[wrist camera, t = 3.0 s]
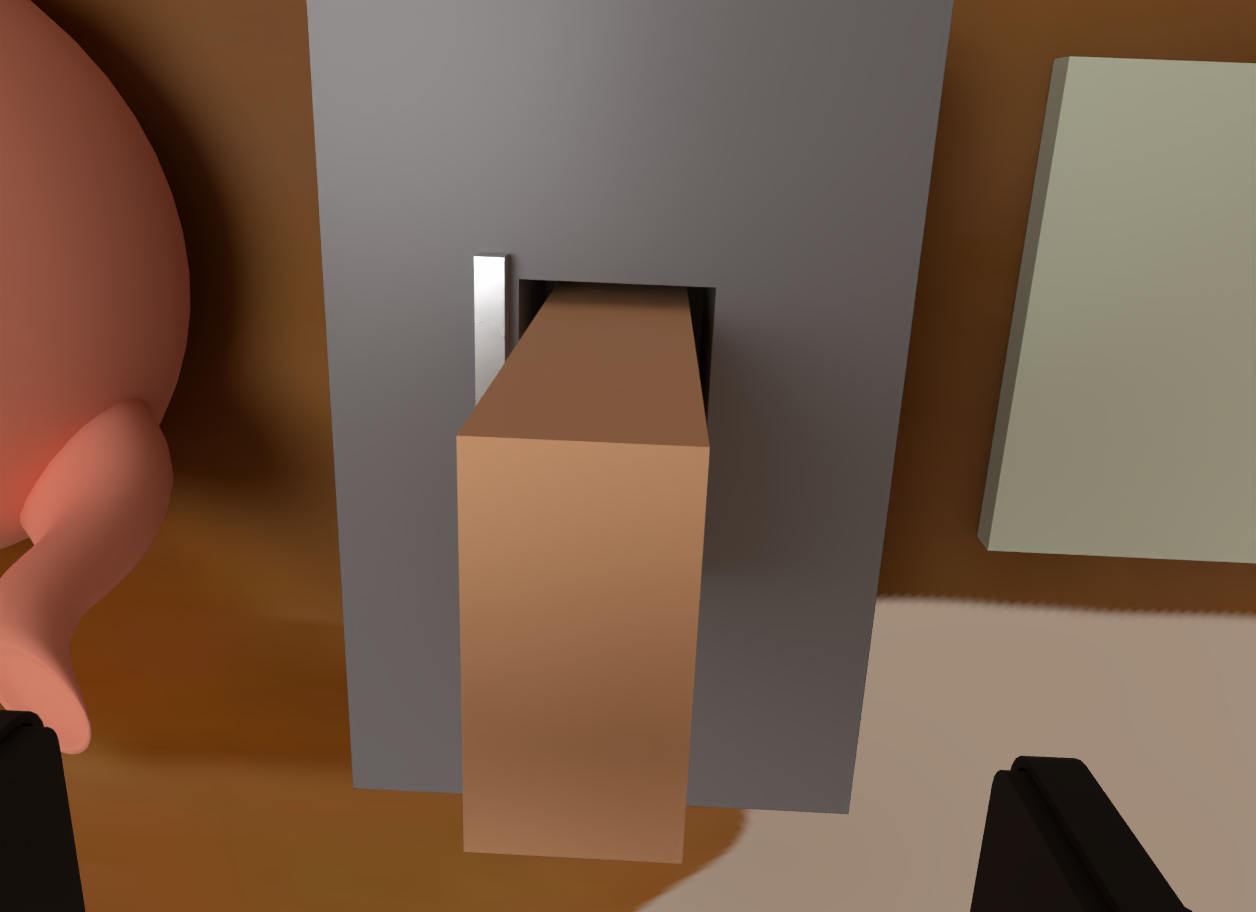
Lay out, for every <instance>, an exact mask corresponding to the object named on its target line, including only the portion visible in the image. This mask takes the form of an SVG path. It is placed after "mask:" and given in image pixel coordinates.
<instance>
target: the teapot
mask: <svg viewBox="0 0 1256 912" xmlns="http://www.w3.org/2000/svg"><path fill="white" fill-rule="evenodd" d="M189 318H190V276H189V266H188V260H187V253H186V247H185V240H184V234H183V230H182V226H181V223H180V219H179V216H178V212H177V209H176V205H175V202H174V198H173V195H172V192H171V189H170V187H169V185H168V182H167V180H166V177H165V175H164V172H163V170H162V168H161V165H160V163H159V160H158V158H157V155H156V153H155V152H154V150H153V148H152V146H151V144H150V142H149V141H148V139H147V137H146V135H145V133H144V132H143V130H142V128H141V126H140V124H139V123H138V121H137V119H136V117H135V115H134V114H133V113H132V111H131V110H130V108H129V107H128V105H127V104H126V103H125V101H124V100H123V98H122V97H121V96H120V94H119V93H118V91H117V90H116V88H115V87H114V86H113V84H112V83H111V81H110V80H109V78H108V77H107V76H106V75H105V74H104V73H103V72H102V71H101V69H100V68H99V67H98V66H97V65H96V64H95V63H94V62H93V60H92V59H91V58H90V57H89V56H88V55H87V54H86V52H85V51H84V50H83V49H82V48H81V47H80V46H79V45H78V43H77V42H76V41H75V40H73V39H72V38H71V37H70V36H69V35H68V34H67V33H66V32H65V31H64V30H63V29H62V28H60V27H59V26H58V25H57V24H56V23H55V22H54V21H53V20H52V19H51V18H49V17H48V16H47V15H46V14H45V13H44V12H43V11H42V10H41V9H39V8H38V7H37V6H36V5H35V4H34V3H33V2H32V1H31V0H0V549H2V548H5V547H8V546H10V545H13V544H16V543H18V542H20V541H23V540H25V539H27V538H31V540H32V542H33V544H34V546H33V547H32V548H31V549H30V550H29V551H28V552H26V553H25V554H24V555H23V556H22V557H21V558H20V559H19V560H18V561H17V562H15V563H14V564H13V565H12V566H11V567H10V568H9V569H8V570H7V571H6V572H5V573H4V575H3V576H2V577H1V578H0V703H1V704H2V705H3V706H4V708H5V709H6V710H15V711H31V712H33V713H36V714H38V716H39V717H40V718H41V720H42V721H43V725H44V727H49V728H52V729H53V730H54V731H55V732H56V734H57V736H58V740H59V745H60V751H61V752H63V753H67V754H79V753H81V752H83V751H84V750H85V749H86V748H87V747H88V746H89V743H90V740H91V737H92V731H91V721H90V716H89V712H88V709H87V707H86V704H85V701H84V698H83V696H82V693H81V690H80V688H79V686H78V682H77V679H76V676H75V673H74V669H73V666H72V663H71V660H70V651H71V637H72V634H73V632H74V630H75V628H76V625H77V623H78V622H79V620H80V619H81V618H82V617H83V615H84V614H85V613H86V612H87V611H88V610H89V609H90V608H91V607H92V606H94V605H95V604H96V603H97V602H98V601H99V600H100V599H101V598H102V597H103V596H105V595H106V594H107V593H108V592H109V591H110V590H111V589H113V588H114V587H115V586H116V585H117V584H118V583H119V582H121V581H122V579H123V578H124V577H125V576H126V575H127V574H128V573H129V572H130V571H131V570H132V569H133V568H134V567H135V566H136V565H137V563H138V562H139V561H140V559H141V558H142V557H143V555H144V554H145V553H146V551H147V550H148V548H149V547H150V545H151V543H152V541H153V540H154V538H155V536H156V535H157V533H158V531H159V529H160V527H161V525H162V523H163V521H164V519H165V517H166V515H167V510H168V506H169V502H170V496H171V491H172V486H173V481H174V479H173V469H172V463H171V458H170V453H169V448H168V443H167V441H166V439H165V437H164V435H163V433H162V431H161V429H160V427H159V424H160V423H161V421H162V419H163V416H164V414H165V411H166V409H167V407H168V404H169V402H170V399H171V397H172V395H173V392H174V390H175V387H176V384H177V381H178V378H179V374H180V370H181V366H182V362H183V358H184V354H185V350H186V346H187V337H188V328H189Z"/></svg>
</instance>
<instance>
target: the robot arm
mask: <svg viewBox="0 0 1256 912" xmlns="http://www.w3.org/2000/svg"><path fill="white" fill-rule="evenodd" d="M0 912H85V906H84V899H83V893H82V886H81V880H80V874H79V867H78V861H77V854H76V848H75V841H74V835H73V828H72V822H71V816H70V809H69V803H68V796H67V790H66V783H65V777H64V770H63V764H62V758H61V751H60V745H59V740H58V736H57V734H56V732H55V731H54V730H53V729H52V728H49V727H44V725H43V721H42V720H41V718H40V717H39V716H38V714H36V713H33V712H31V711H15V710H0ZM970 912H1192V911H1191V910H1189V909H1187V908H1185V907H1184V906H1183V904H1182V902H1181V901H1180V900H1179V899H1178V897H1177V895H1176V894H1175V892H1174V891H1173V890H1172V888H1171V887H1170V885H1169V884H1168V882H1167V881H1166V880H1165V878H1164V877H1163V875H1162V874H1161V872H1160V871H1159V870H1158V868H1157V867H1156V865H1155V864H1154V862H1153V861H1152V860H1151V858H1150V857H1149V855H1148V854H1147V852H1146V851H1145V849H1144V848H1143V847H1142V845H1141V844H1140V842H1139V841H1138V839H1137V838H1136V837H1135V835H1134V834H1133V832H1132V831H1131V829H1130V828H1129V827H1128V825H1127V824H1126V822H1125V821H1124V819H1123V818H1122V817H1121V815H1120V814H1119V812H1118V811H1117V810H1116V808H1115V807H1114V805H1113V804H1112V802H1111V801H1110V800H1109V798H1108V796H1107V795H1106V794H1105V792H1104V791H1103V789H1102V788H1101V787H1100V785H1099V784H1098V782H1097V781H1096V779H1095V778H1094V777H1093V775H1092V774H1091V772H1090V771H1089V769H1088V768H1087V766H1086V765H1085V764H1084V763H1083V762H1082V761H1081V760H1078V759H1075V758H1057V757H1035V756H1019V757H1018V758H1016V759H1015V761H1014V763H1013V764H1012V767H1011V770H1010V771H1009V770H1000V771H998V772H997V773H996V775H995V776H994V780H993V783H992V788H991V795H990V800H989V806H988V812H987V817H986V823H985V829H984V835H983V840H982V847H981V852H980V858H979V864H978V869H977V875H976V881H975V886H974V893H973V898H972V904H971V909H970Z"/></svg>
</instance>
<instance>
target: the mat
mask: <svg viewBox="0 0 1256 912" xmlns="http://www.w3.org/2000/svg"><path fill="white" fill-rule="evenodd" d="M977 537H978V538H979V540H980V541H981V542H982V544H983V545H984V546H985V548H986V549H987V550H988V551H1008V552H1029V553H1050V554H1071V555H1092V556H1113V557H1134V558H1155V559H1176V560H1197V561H1218V562H1239V563H1256V63H1232V62H1206V61H1179V60H1153V59H1127V58H1100V57H1074V56H1069V57H1063V58H1057V59H1054V63H1053V69H1052V76H1051V82H1050V88H1049V94H1048V100H1047V107H1046V113H1045V119H1044V125H1043V131H1042V138H1041V144H1040V150H1039V156H1038V162H1037V169H1036V175H1035V181H1034V187H1033V193H1032V200H1031V206H1030V212H1029V218H1028V224H1027V231H1026V237H1025V243H1024V249H1023V255H1022V262H1021V268H1020V274H1019V280H1018V286H1017V293H1016V299H1015V305H1014V311H1013V317H1012V323H1011V330H1010V336H1009V342H1008V348H1007V354H1006V361H1005V367H1004V373H1003V379H1002V385H1001V392H1000V398H999V404H998V410H997V416H996V423H995V429H994V435H993V441H992V447H991V454H990V460H989V466H988V472H987V478H986V485H985V491H984V497H983V503H982V509H981V516H980V522H979V528H978V534H977Z"/></svg>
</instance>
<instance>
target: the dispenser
mask: <svg viewBox="0 0 1256 912" xmlns="http://www.w3.org/2000/svg"><path fill="white" fill-rule="evenodd" d="M953 1H954V0H307V13H308V30H309V47H310V64H311V81H312V97H313V114H314V131H315V148H316V165H317V181H318V198H319V215H320V232H321V249H322V266H323V282H324V299H325V316H326V333H327V350H328V367H329V383H330V400H331V417H332V434H333V451H334V467H335V484H336V501H337V518H338V535H339V552H340V568H341V585H342V602H343V619H344V636H345V652H346V669H347V686H348V703H349V720H350V737H351V753H352V770H353V787H354V788H365V789H384V790H403V791H422V792H441V793H459V794H463V773H462V718H461V662H460V607H459V552H458V496H457V441H456V435H457V434H458V432H459V431H460V429H461V428H462V426H463V425H464V423H465V422H466V420H467V419H468V417H469V416H470V414H471V413H472V411H473V410H474V408H475V407H476V405H477V404H478V402H479V401H480V399H481V398H482V396H483V395H484V393H485V392H486V390H487V389H488V387H489V386H490V384H491V383H492V381H493V380H494V378H495V377H496V375H497V374H498V372H499V371H500V369H501V368H502V366H503V365H504V363H505V361H506V360H507V358H508V357H509V355H510V354H511V352H512V351H513V349H514V348H515V346H516V345H517V343H518V342H519V340H520V339H521V337H522V336H523V334H524V333H525V331H526V330H527V328H528V327H529V325H530V324H531V322H532V321H533V319H534V318H535V316H536V315H537V313H538V312H539V310H540V309H541V307H542V306H543V304H544V303H545V301H546V300H547V298H548V297H549V295H550V294H551V292H552V291H553V289H554V287H555V286H556V284H557V283H558V281H576V282H600V283H623V284H646V285H670V286H687V293H688V300H689V307H690V314H691V321H692V328H693V335H694V341H695V348H696V355H697V362H698V369H699V376H700V383H701V390H702V397H703V404H704V411H705V417H706V424H707V431H708V438H709V445H710V452H709V467H708V482H707V497H706V512H705V527H704V542H703V557H702V572H701V587H700V601H699V616H698V631H697V646H696V661H695V676H694V691H693V706H692V721H691V736H690V751H689V766H688V781H687V796H686V806H705V807H723V808H742V809H761V810H781V811H799V812H819V813H838V814H848V813H849V804H850V797H851V789H852V782H853V774H854V766H855V758H856V750H857V743H858V736H859V727H860V720H861V712H862V705H863V697H864V689H865V682H866V674H867V665H868V658H869V650H870V642H871V634H872V627H873V619H874V612H875V604H876V596H877V589H878V581H879V573H880V566H881V558H882V550H883V542H884V535H885V527H886V519H887V511H888V504H889V496H890V488H891V480H892V473H893V465H894V457H895V450H896V442H897V434H898V426H899V419H900V411H901V403H902V395H903V388H904V380H905V372H906V364H907V357H908V349H909V341H910V333H911V326H912V318H913V310H914V303H915V295H916V287H917V279H918V272H919V264H920V256H921V248H922V241H923V233H924V225H925V217H926V210H927V202H928V194H929V187H930V179H931V171H932V163H933V156H934V148H935V140H936V132H937V125H938V117H939V109H940V101H941V94H942V86H943V78H944V71H945V63H946V55H947V47H948V40H949V32H950V24H951V16H952V9H953Z"/></svg>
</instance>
